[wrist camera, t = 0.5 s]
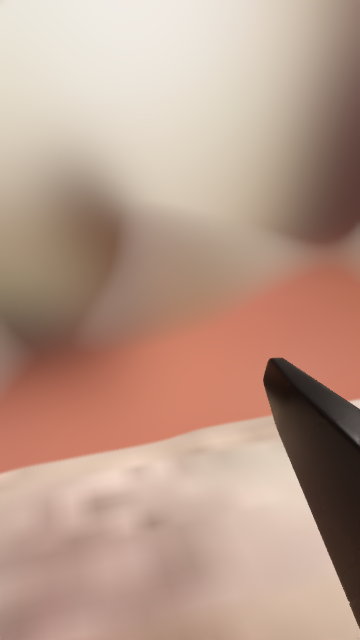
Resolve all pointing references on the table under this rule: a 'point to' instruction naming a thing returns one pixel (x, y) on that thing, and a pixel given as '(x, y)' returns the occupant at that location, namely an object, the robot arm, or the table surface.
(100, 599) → the table surface
